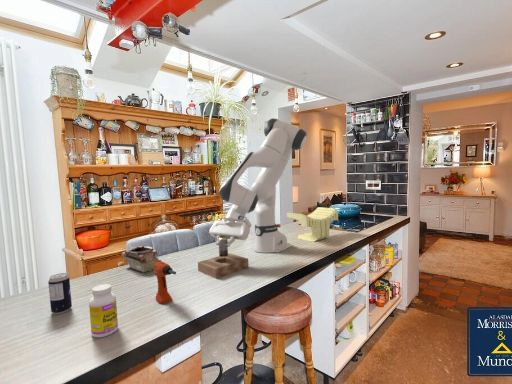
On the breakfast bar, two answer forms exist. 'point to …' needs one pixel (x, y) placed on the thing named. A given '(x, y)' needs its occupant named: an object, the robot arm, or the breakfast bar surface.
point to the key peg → (223, 247)
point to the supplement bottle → (103, 311)
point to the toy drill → (162, 281)
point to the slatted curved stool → (316, 223)
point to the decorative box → (141, 258)
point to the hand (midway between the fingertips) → (222, 245)
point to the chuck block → (222, 265)
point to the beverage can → (60, 293)
